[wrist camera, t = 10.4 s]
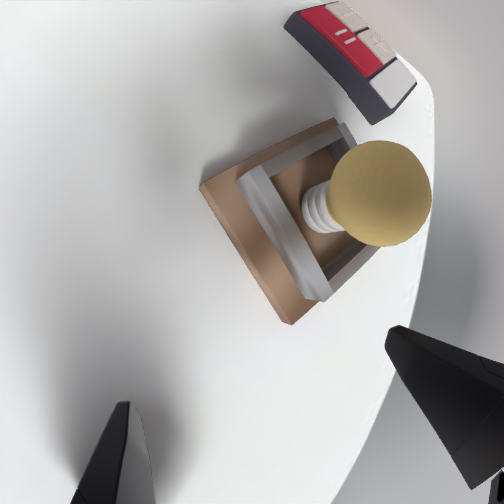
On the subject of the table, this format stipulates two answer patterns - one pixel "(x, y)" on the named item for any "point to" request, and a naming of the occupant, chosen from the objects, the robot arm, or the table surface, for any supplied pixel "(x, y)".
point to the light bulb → (372, 195)
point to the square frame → (288, 219)
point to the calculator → (354, 57)
